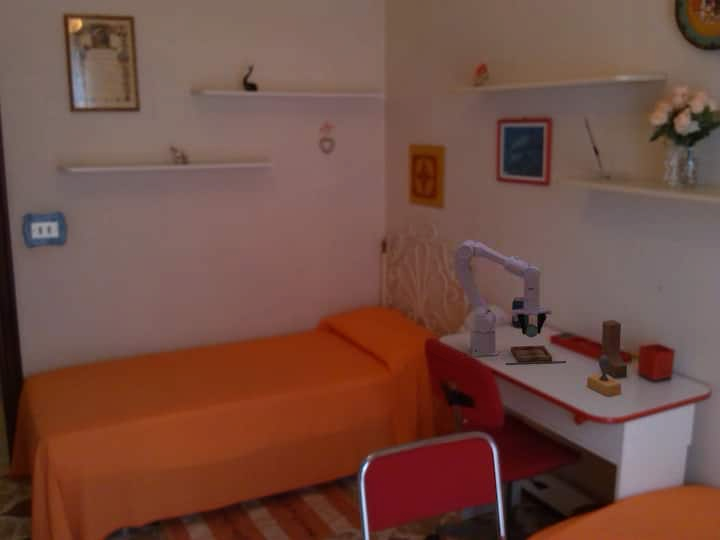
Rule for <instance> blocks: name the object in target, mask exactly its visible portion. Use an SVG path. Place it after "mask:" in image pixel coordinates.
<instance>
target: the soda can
mask: <svg viewBox="0 0 720 540" xmlns="http://www.w3.org/2000/svg"><path fill="white" fill-rule="evenodd" d="M511 303H512V304H511V310H515V309H522V308H524V297H519V296H518V297H514V298H513V301H512V302H511ZM524 316H525V318H526V321H525V327H526V326H527V325H528V324H530V321H529V320H530V315H524ZM511 324H512V326H513V327H514V328H517V329H522V328H521V325H520V322H519V320H518V317H517V315H515V316H512V315H511Z"/></svg>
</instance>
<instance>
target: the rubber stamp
mask: <svg viewBox="0 0 720 540" xmlns="http://www.w3.org/2000/svg"><path fill="white" fill-rule="evenodd" d="M598 359H599V360H598V365H599V369H600V371H601V373H597V374H592V375H587V378H586V379H587V381H586V386H587V387H588V388H590V389H591V390H594V391H595V392H598V393H600V394H601V395H604V396H605V397H612V396H617V395H621V394H622V392H621V391H622V383H621V382H620V381H617V380H615V379H613V378H612V377H609V376H607V373H606V372H607V369H608V367H609V364H610V359H609V357H608V356H606V355H603V356H602V355H601V356H599V358H598Z"/></svg>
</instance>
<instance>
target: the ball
mask: <svg viewBox="0 0 720 540" xmlns="http://www.w3.org/2000/svg"><path fill="white" fill-rule="evenodd" d="M537 335H538V328H537V325H535V324H533V323H529V324H528V325H527V326H526V327H525V336H526V337H528V338H535V337H536V336H537Z"/></svg>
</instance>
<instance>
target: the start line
mask: <svg viewBox="0 0 720 540" xmlns="http://www.w3.org/2000/svg"><path fill="white" fill-rule="evenodd" d="M539 364H540V365H543V364H567V361H566V360H560V361H559V360H557V361H553V360H552V361H543V362H506V363H505V366H512V365H514V366H515V365H517V366H518V365H519V366H520V365H539Z"/></svg>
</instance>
